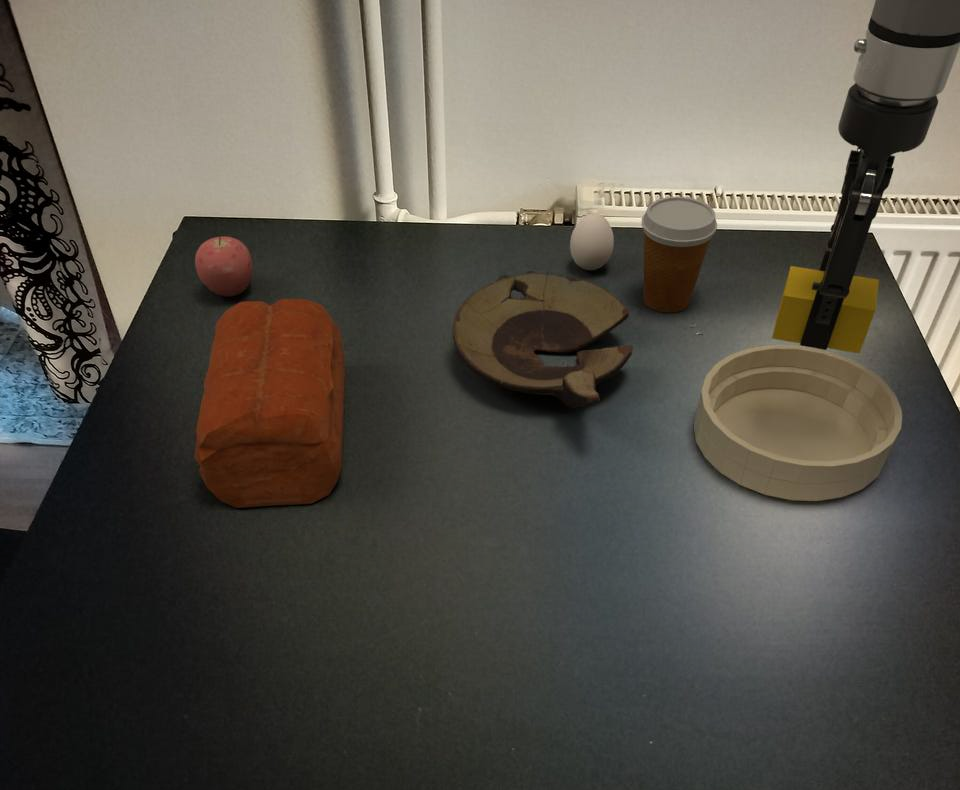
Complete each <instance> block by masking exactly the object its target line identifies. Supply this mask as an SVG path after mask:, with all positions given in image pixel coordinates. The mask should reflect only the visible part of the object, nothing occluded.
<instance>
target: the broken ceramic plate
mask: <svg viewBox="0 0 960 790" xmlns="http://www.w3.org/2000/svg"><path fill="white" fill-rule="evenodd" d="M513 291H516V292H517V293H521V294H522V295H523V296H522V298H513V297H512V293H513ZM629 316H630V313H629V309H628V308H627V307H626V306H624V304H623V302H622V300H620V299H619V298H618V297H617V296H615V295H614V294H611V292H609V291H608V290H607V289H605V288H604V287H602V286H600V285H598V284H596V283H593V282H591V281H588V280H585V279H581V278H577V277H576V278H575V277H570V276H568V275H566V276H563V275H562V274H556V273H555V274H552V273H551V274H550V273H548V272H547V273H541V272H537V271H533V270H529V271H527V272H525V273H522V274H519V275H506V274H503V275H500V276H499V277H498V278H497V279H496V281H494V282H491V283H489V284H487V285H485V286H483V287H481V288H480V289H478V290H477V291H475V292H474V293H472V294H471V295H470V296H469V297H468V298H466V299H465V300H464V301H463V303H462V304H461V305H460V306H459V308H458V309H457V312H456V313H455V316H454V319H453V321H452V327H451V328H452V331H451V332H452V338H453V343H454V347H455V350H456V352H457V354H458V356H459V358H460V359H461V360H462V362H463V363H464V364H465V366H466V367H467V368H468V369H469V370H470V371H472V372H473V373H474V374H476V375H477V376H479V377H480V378H482V379H483V380H485V381H487V382H489V383H492V384H494V385H496V386H498V387H501V388H504V389H507V390H510V391H515V392H518V393H519V392H520V393H525V394H533V395H541V396H553V397H554V396H555V397H556V398H558V399H559V400H560V401H561V402H563V404H564V405H566V406H567V407H569V408H581V407H584V406H591V405H594V404H598V403H599V402H601V401H600V400H601V398H600V394H599V393H598V392H597V391H596V386H597V385H598V384H600V383H602V382H604V381H606V380H608V379H609V378H611V377H613V376H614V375H615V374H617V373H618V372H620V370H621V369H622V368H623V367H624V366H625V365H626V363H627V362H628V361H629V359H630V358H631V356H632V354H633V350H634V347H633V345H629V344H628V345H622V346H620V345H617V346H615V347H603V348H600V349H598V348H596V349H585V348H586V347H588V346H590V345H591V344H592V343H594V342H596V341H598V340H600V339H601V338H602V337H604V336H605V335H607V334H609V333H610V332H611V331H612V330H614V329H615V328H617V327H618V326H620V325H621V324H622V323H623V322H624V321H626V320H627V319H628V318H629ZM581 349H583V350H581ZM535 352H542V353H544V352H545V353H554V354H565V353H566V354H567V353H568V354H569V353H571V352H573V353H575V352H576V362H577V365H574V366H568V365H567V363H566V361H565V360H563V362H564V366H557V365H553V366H551V365H544V364H543V362H542V360H541V359H540V357H538V355H536V353H535Z"/></svg>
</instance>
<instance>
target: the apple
mask: <svg viewBox="0 0 960 790" xmlns="http://www.w3.org/2000/svg"><path fill="white" fill-rule="evenodd" d="M194 267H195V270H196V274H197V276H198V278H199V279H200V281H201V282H202V284H203V285H204V286H205V287H206V288H207V289H208V290H210V291H211V292H212V293H214V294H216V295H218V296H220V297H229V298H230V297H235V296H238V295H241V294H242V293H243V292H244V291H245V290H246V289H247V287H249V285H250V282H251V280H252V276H253V272H254V271H253V270H254V269H253V261H252V256H251V254H250V251H249V249H248V247H247V246H246V245H245V244H244V243H243V242H242V241H241V240H239V239H237V238H234V237H232V236H216V237H212V238H210V239H207V240H205V241H204V242H203V243H202V244H200V246H199V247H198V249H197V250H196V253H195V257H194Z"/></svg>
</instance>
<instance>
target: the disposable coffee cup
mask: <svg viewBox="0 0 960 790" xmlns="http://www.w3.org/2000/svg"><path fill="white" fill-rule="evenodd" d="M641 226H642V230H643V280H642V281H643V283H642V284H643V285H642V287H643V289H642V291H643V293H642V299H643V302H644V304H645V305H646V306H647V307H648V308H649V309H651V310H654V311H656V312H661V313H677V312H681V311H683V310H685V309H686V308H687V307H688V306H689V305H690V302H691V299H692V296H693V292H694V290H695V287H696V284H697V281H698V278H699V275H700V271H701V269H702V266H703V263H704V260H705V257H706V253H707V250H708V247H709V244H710V241H711V239H712V237H713V236H714V234H715V233H716V231H717V229H718V221H717V220H716V211H715V210H714V209H713V207H712V206H711V205H709V204H708V203H706V202H705V201H702V200H699V199H696V198H692V197H687V196H667V197H662V198H659V199H656V200H654V201H653V202H651V203H650V204H649V205H648V207H647V208H646V210H645V213H644V214H643V215H642V217H641Z"/></svg>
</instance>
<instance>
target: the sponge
mask: <svg viewBox="0 0 960 790" xmlns="http://www.w3.org/2000/svg"><path fill="white" fill-rule="evenodd" d="M824 273H825V271H820V269H813V268H806V267H800V266H795V265H791V266H790V267H789V271H788V274H787V277H786V282H785V285H784V289H783V293H782V295H781V299H780V304H779V307H778V312H777V315H776V320H775V324H774V328H773V333H772V335H771V339H772V340H778V341H783V342H789V343H795V344H800V343H801V339H802V336H803V333H804V330H805V326H806V323H807V320H808V317H809V314H810V311H811V307H812V304H813V301H814V298H815V295H816V292H817V290H812V286H813V282H817V283H820V282H821V281H822V279H823V276H824ZM879 286H880V279H878V278H877V279H876V278H871V277H865V276H857V275H854V276H853V279H852V282H851V284H850V287H849V290H850V291H849V294H848V295H847V297H846V298H844V301H843V303H842V306H841V309H840V312H839V315H838V318H837V321H836V324H835V327H834V330H833V332H832V335H831V338H830V341H829V344H828V347H827V349H831V350H836V351H841V352H842V351H843V352H848V353H852V354H860V353H861V351H862V348H863V345H864V343H865V341H866V337H867V335H868V332H869V329H870V327H871V324H872V321H873V318H874V316H875V314H876V310H877V301H878V294H879Z"/></svg>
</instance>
